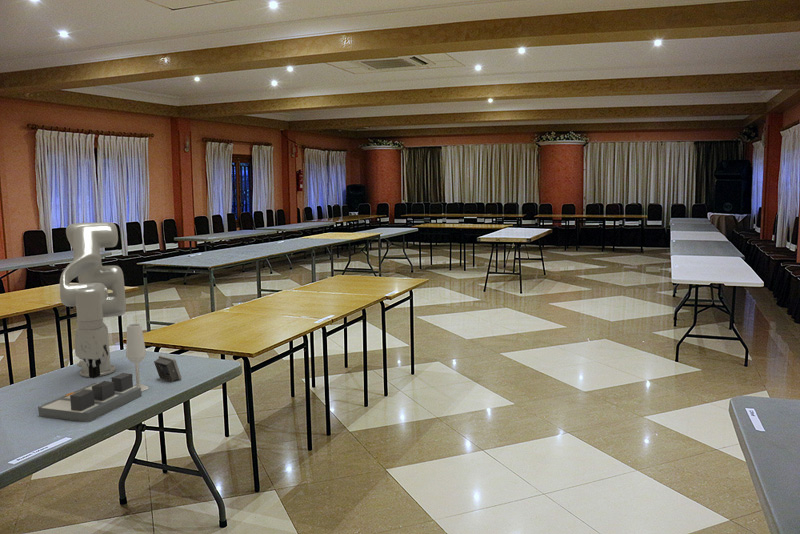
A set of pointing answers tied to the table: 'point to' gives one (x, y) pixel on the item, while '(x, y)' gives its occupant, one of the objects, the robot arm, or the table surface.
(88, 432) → the table surface
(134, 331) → the champagne flute
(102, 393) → the block
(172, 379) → the electrical switch
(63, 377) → the table surface
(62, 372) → the table surface
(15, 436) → the table surface
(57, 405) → the breaker panel
